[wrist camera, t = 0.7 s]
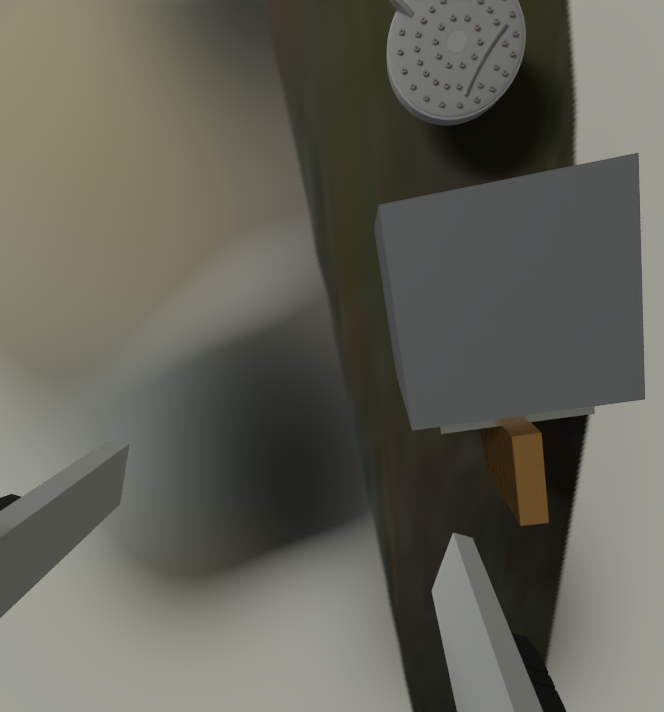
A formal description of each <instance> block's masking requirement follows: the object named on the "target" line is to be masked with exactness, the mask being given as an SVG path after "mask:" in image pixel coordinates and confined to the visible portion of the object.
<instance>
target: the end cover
mask: <svg viewBox="0 0 664 712" xmlns="http://www.w3.org/2000/svg"><path fill="white" fill-rule="evenodd" d="M594 413H595V412H594V406H591V407H583V408H576V409H568V410H561V411H553V412H546V413H538V414H531V415H524V416H516V417H509V418H501V419H494V420H486V421H479V422H471V423H464V424H457V425H449V426H442V427H438V428H439V430H440V432H441V434H444V433H451V432H459V431H466V430H474V429H481V432H482V440H483V449H484V458H485V467H486V469H487V471H488V473H489V474H490V476H491V478H492V479H493V481H494V483H495V484H496V486H497V488H498V489H499V491H500V492H501V494H502V496H503V497H504V499H505V501H506V502H507V504H508V506H509V507H510V509H511V511H512V512H513V514H514V516H515V517H516V519H517V521H518V522H519V524H520V526H523V525H532V524H542V523H549V519H548V507H547V494H546V482H545V470H544V457H543V445H542V433H541V432H540V431H539V430H538V429H537V428H536V427H535V426H534V425H533V424H532V423H531V422H534V421H542V420H549V419H557V418H565V417H572V416H580V415H587V414H594Z"/></svg>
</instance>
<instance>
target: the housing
mask: <svg viewBox="0 0 664 712" xmlns="http://www.w3.org/2000/svg"><path fill="white" fill-rule="evenodd" d="M374 232H375V239H376V245H377V252H378V258H379V265H380V271H381V278H382V285H383V291H384V298H385V304H386V311H387V317H388V324H389V331H390V337H391V344H392V350H393V357H394V363H395V370H396V376H397V379H398V383H399V386H400V389H401V393H402V396H403V400H404V403H405V407H406V410H407V414H408V417H409V421H410V424H411V428H412V430H419V429H427V428H434V427H442V426H449V425H457V424H464V423H471V422H479V421H486V420H494V419H501V418H509V417H516V416H524V415H531V414H538V413H546V412H553V411H561V410H568V409H576V408H583V407H591V406H598V405H605V404H613V403H620V402H627V401H635V400H643V399H645V384H644V383H645V382H644V345H643V344H644V343H643V311H642V310H643V306H642V270H641V269H642V268H641V235H640V234H641V231H640V194H639V158H638V153H635V154H630V155H625V156H620V157H616V158H610V159H605V160H601V161H595V162H590V163H585V164H581V165H575V166H570V167H565V168H560V169H556V170H551V171H546V172H541V173H536V174H531V175H526V176H521V177H516V178H511V179H506V180H501V181H496V182H491V183H486V184H481V185H476V186H471V187H466V188H461V189H456V190H451V191H446V192H441V193H436V194H431V195H426V196H421V197H416V198H411V199H406V200H401V201H396V202H391V203H386V204H381V205H379V207H378V212H377V216H376V221H375V226H374Z"/></svg>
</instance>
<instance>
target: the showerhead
mask: <svg viewBox="0 0 664 712" xmlns="http://www.w3.org/2000/svg"><path fill="white" fill-rule="evenodd" d="M390 3H391V4H392V5H393V6H394V8H395V9H396V10H397V11H396V13H395V15H394V18H393V21H392V23H391V27H390V30H389V35H388V43H387V70H388V76H389V79H390V83H391V86H392V88H393V91H394V93H395V95H396V96H397V98H398V100H399V101H400V102H401V104H402V105H403V106H404V107H405V108H406V109H407V110H408V111H409V112H410V113H411V114H413V115H414V116H416V117H417V118H419V119H421V120H423V121H426V122H428V123H432V124H436V125H457V124H461V123H465V122H468V121H470V120H473V119H475V118H477V117H478V116H480V115H481V114H483V113H484V112H486V111H487V110H488V109H490V108H491V107H492V106H493V105H494V104H495V103H496V102H497V101H498V100H499V99H500V97H501V96H502V95H503V94H504V93H505V92H506V90H507V89H508V88H509V86H510V85H511V83H512V82H513V80H514V78H515V76H516V75H517V72H518V70H519V68H520V65H521V62H522V59H523V55H524V50H525V41H526V29H525V21H524V16H523V12H522V9H521V6H520V4H519V2H518V0H390Z"/></svg>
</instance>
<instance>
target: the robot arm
mask: <svg viewBox="0 0 664 712" xmlns="http://www.w3.org/2000/svg"><path fill="white" fill-rule="evenodd" d="M128 449H129V443H125V442H121V441H118V440H114V439H109V440H108V441H106V442H105V443H103V444H102V445H101V446H99V447H97V448H96V449H94V450H93V451H91V452H90V453H88V454H87V455H85V456H84V457H82V458H80V459H79V460H77V461H76V462H75V463H73V464H71V465H70V466H68V467H67V468H65V469H64V470H62V471H61V472H59V473H58V474H56V475H55V476H53V477H52V478H50V479H48V480H47V481H45V482H44V483H43V484H41V485H39V486H38V487H37V488H35V489H33V490H32V491H30V492H29V493H27V494H26V495H24V496H23V497H20V496H17V495H13V494H10V495H7V496H4V497H2V498H0V618H1V617H2V616H3V615H4V614H5V613H6V612H7V611H8V610H9V609H10V608H11V607H12V606H13V605H14V604H15V603H17V602H18V601H19V599H21V598H22V597H23V596H24V595H25V594H26V593H27V592H28V591H29V590H30V589H31V588H32V587H33V586H34V585H35V584H36V583H38V582H39V581H40V580H41V579H42V578H43V577H44V576H45V575H46V574H47V573H48V572H49V571H50V570H51V569H52V568H53V567H54V566H55V565H56V564H58V563H59V562H60V561H61V560H62V559H63V558H64V557H65V556H66V555H67V554H68V553H69V552H70V551H71V550H72V549H73V548H74V547H75V546H77V545H78V544H79V543H80V542H81V541H82V540H83V539H84V538H85V537H86V536H87V535H88V534H89V533H90V532H91V531H92V530H93V529H94V528H95V527H96V526H98V525H99V524H100V523H101V522H102V521H103V520H104V519H105V518H106V517H107V516H108V515H109V514H110V513H111V512H112V511H113V510H114V509H115V508H116V507H117V506H119V505H120V501H121V494H122V488H123V481H124V475H125V468H126V461H127V455H128ZM432 595H433V599H434V604H435V609H436V614H437V618H438V623H439V628H440V632H441V637H442V642H443V647H444V651H445V656H446V661H447V665H448V670H449V675H450V680H451V684H452V689H453V694H454V698H455V703H456V708H457V712H566V710H565V708H564V705H563V703H562V701H561V699H560V697H559V694H558V692H557V691H556V690H555V686H554V684H553V681H552V679H551V677H550V676H549V675H548V671H547V668H546V666H545V664H544V662H543V660H542V658H541V655H540V654H539V652H538V651H537V650H536V649H535V647H534V646H533V645H532V643H531V642H530V641H529V640H528V638H527V637H525V636H521V635H518V634H514V633H511V632H510V629H509V627H508V624H507V622H506V619H505V617H504V614H503V612H502V609H501V607H500V605H499V602H498V600H497V597H496V595H495V592H494V590H493V587H492V585H491V582H490V580H489V578H488V575H487V573H486V570H485V568H484V565H483V563H482V560H481V558H480V555H479V553H478V551H477V548H476V546H475V543H474V541H473V538H471V537H467V536H464V535H460V534H456V533H453V534H452V537H451V540H450V542H449V545H448V548H447V551H446V553H445V556H444V559H443V561H442V564H441V567H440V570H439V572H438V575H437V578H436V581H435V583H434V586H433V589H432Z"/></svg>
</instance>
